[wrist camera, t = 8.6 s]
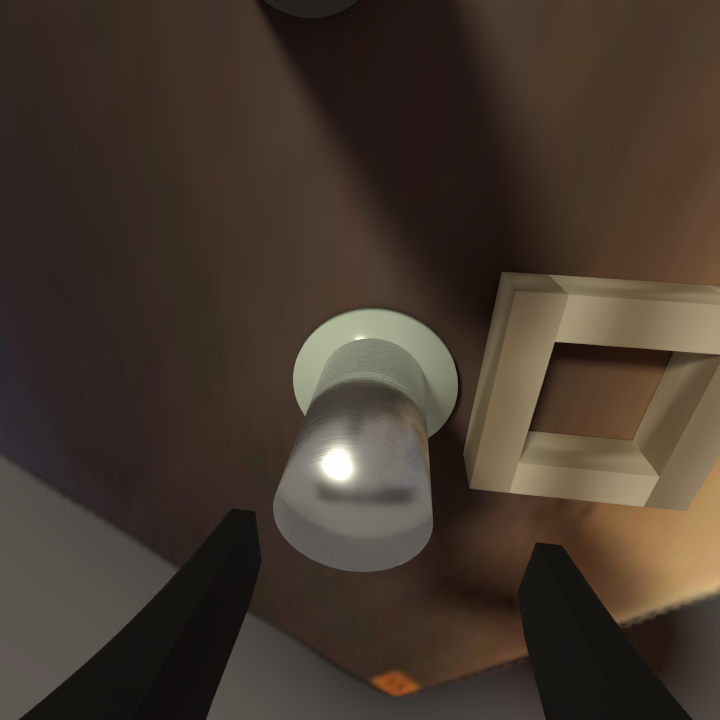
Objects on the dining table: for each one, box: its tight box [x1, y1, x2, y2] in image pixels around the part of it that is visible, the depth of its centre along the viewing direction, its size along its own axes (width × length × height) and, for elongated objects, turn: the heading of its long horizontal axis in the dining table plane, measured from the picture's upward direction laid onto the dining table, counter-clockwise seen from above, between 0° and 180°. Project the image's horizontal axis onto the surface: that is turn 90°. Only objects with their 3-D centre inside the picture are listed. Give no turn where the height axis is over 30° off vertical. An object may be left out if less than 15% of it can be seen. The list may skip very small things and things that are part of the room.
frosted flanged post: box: [273, 338, 433, 572], centre depth 16 cm, size 5×5×8 cm
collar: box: [463, 272, 720, 511], centre depth 18 cm, size 10×10×2 cm
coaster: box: [293, 307, 458, 438], centre depth 20 cm, size 8×8×1 cm
